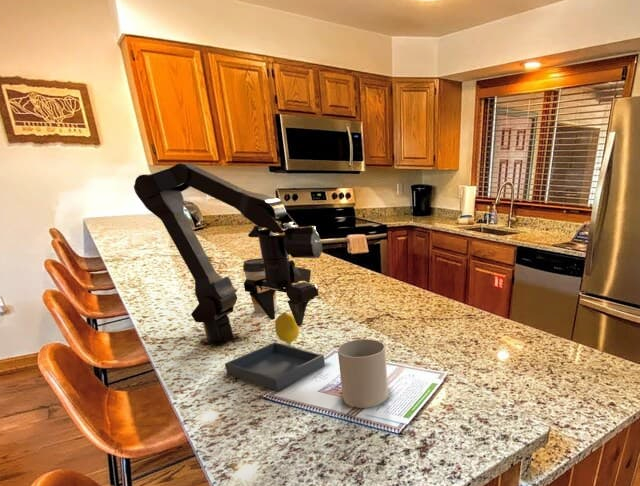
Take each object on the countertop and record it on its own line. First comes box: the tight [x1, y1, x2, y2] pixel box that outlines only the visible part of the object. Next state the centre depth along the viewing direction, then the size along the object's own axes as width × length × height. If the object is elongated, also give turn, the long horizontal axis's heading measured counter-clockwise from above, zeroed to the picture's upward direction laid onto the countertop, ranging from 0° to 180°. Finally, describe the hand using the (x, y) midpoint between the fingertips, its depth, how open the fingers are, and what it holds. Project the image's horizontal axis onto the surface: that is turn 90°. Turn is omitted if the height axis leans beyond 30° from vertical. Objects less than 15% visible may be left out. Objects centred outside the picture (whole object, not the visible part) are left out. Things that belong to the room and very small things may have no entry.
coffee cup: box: [242, 257, 278, 315], centre depth 125 cm, size 8×8×15 cm
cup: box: [337, 338, 389, 409], centre depth 78 cm, size 8×8×10 cm
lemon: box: [274, 311, 300, 344], centre depth 103 cm, size 6×6×8 cm
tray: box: [224, 342, 326, 392], centre depth 91 cm, size 15×13×2 cm
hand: (286, 322), depth 103 cm, fingers open, 9 cm apart
